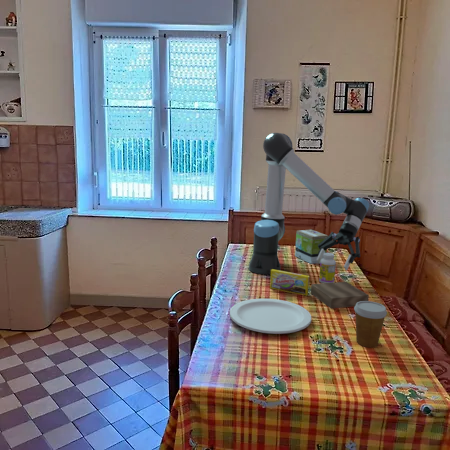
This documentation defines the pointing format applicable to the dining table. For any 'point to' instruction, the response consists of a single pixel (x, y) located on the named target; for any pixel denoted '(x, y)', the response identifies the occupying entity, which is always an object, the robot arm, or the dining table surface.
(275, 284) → the candy box
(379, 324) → the disposable coffee cup
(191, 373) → the dining table surface
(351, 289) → the walnut stand
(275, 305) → the plate
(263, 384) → the dining table surface
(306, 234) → the tea box
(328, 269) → the supplement bottle
